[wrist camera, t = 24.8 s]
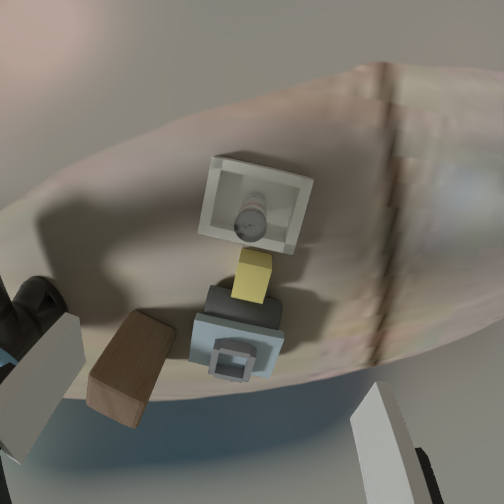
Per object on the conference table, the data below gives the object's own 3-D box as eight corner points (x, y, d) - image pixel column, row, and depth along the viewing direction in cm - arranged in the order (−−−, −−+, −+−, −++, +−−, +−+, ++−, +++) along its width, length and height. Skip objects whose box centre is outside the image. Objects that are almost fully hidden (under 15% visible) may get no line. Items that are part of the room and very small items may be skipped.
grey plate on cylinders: (196, 342, 56) (183, 382, 45) (207, 276, 51) (193, 312, 40) (265, 356, 56) (264, 399, 46) (286, 294, 51) (291, 333, 40)
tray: (202, 226, 47) (197, 233, 44) (216, 155, 43) (212, 156, 39) (290, 246, 48) (292, 255, 44) (309, 177, 44) (314, 180, 40)
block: (178, 328, 55) (146, 404, 36) (164, 360, 58) (135, 432, 40) (133, 306, 54) (86, 374, 35) (123, 340, 57) (83, 405, 39)
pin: (240, 211, 45) (231, 238, 33) (245, 189, 44) (237, 208, 32) (263, 216, 46) (262, 245, 33) (269, 194, 44) (270, 215, 32)
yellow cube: (234, 279, 51) (230, 296, 45) (241, 247, 48) (238, 261, 43) (262, 286, 51) (262, 303, 45) (271, 254, 49) (272, 269, 43)
